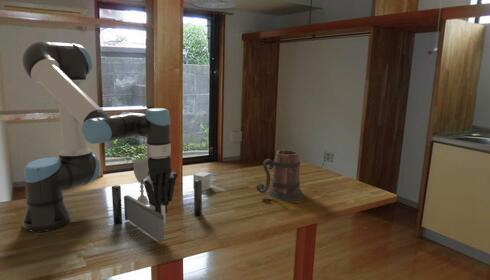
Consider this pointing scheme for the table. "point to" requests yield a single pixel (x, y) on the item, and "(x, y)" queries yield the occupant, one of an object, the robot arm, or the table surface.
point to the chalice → (141, 176)
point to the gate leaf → (144, 217)
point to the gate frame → (118, 209)
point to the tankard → (283, 176)
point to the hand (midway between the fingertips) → (161, 222)
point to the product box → (203, 179)
